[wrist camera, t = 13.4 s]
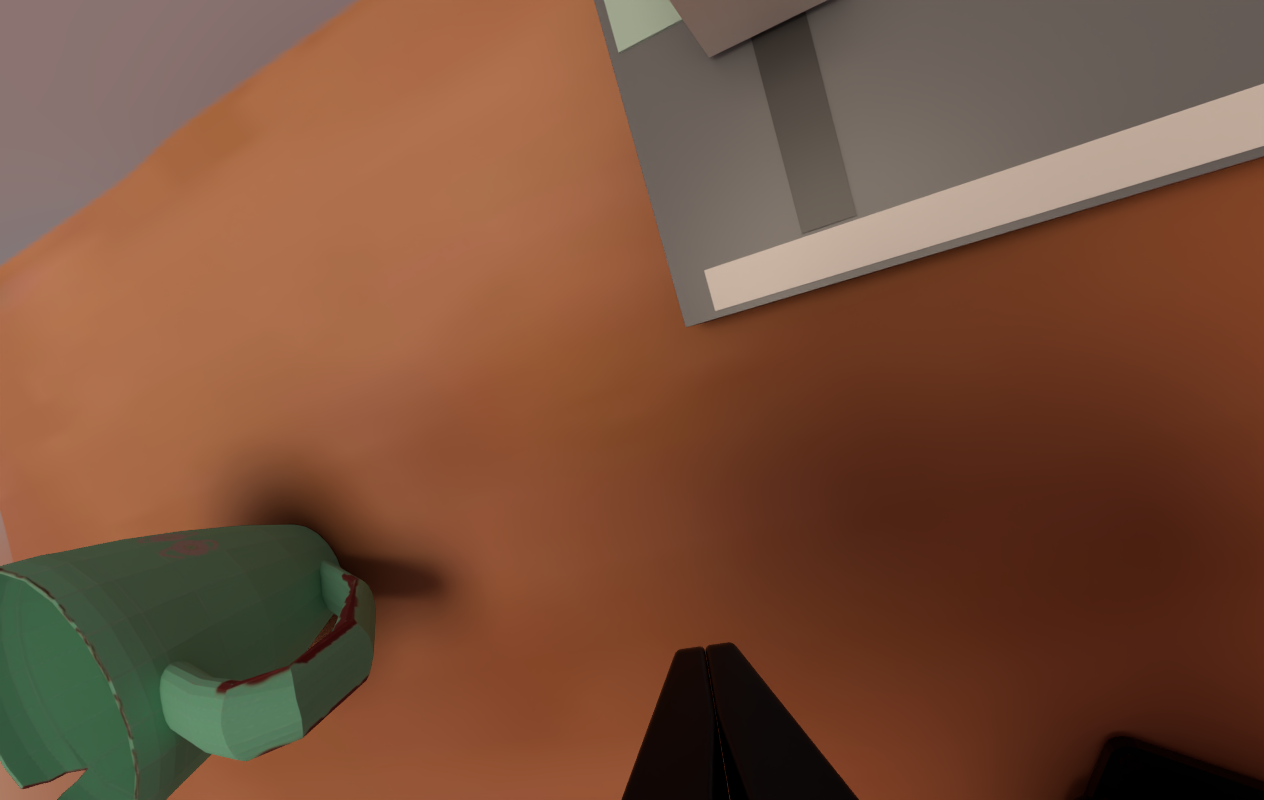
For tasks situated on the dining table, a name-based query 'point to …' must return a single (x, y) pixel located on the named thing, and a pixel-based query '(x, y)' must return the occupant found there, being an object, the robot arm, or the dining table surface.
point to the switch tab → (735, 19)
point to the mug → (173, 655)
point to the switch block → (918, 127)
